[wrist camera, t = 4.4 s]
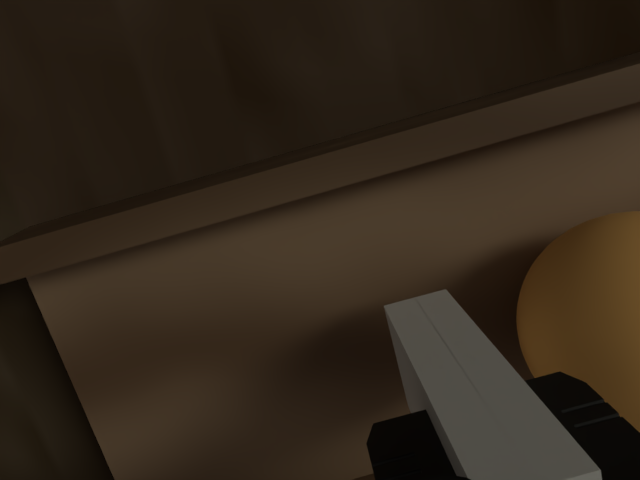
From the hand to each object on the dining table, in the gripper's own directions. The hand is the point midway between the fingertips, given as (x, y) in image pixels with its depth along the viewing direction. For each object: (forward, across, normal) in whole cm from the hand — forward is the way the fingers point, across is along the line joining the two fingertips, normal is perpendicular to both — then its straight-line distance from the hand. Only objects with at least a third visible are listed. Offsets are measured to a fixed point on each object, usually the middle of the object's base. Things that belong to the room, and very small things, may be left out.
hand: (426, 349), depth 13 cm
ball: (-1, +4, 0) cm, 5 cm away
